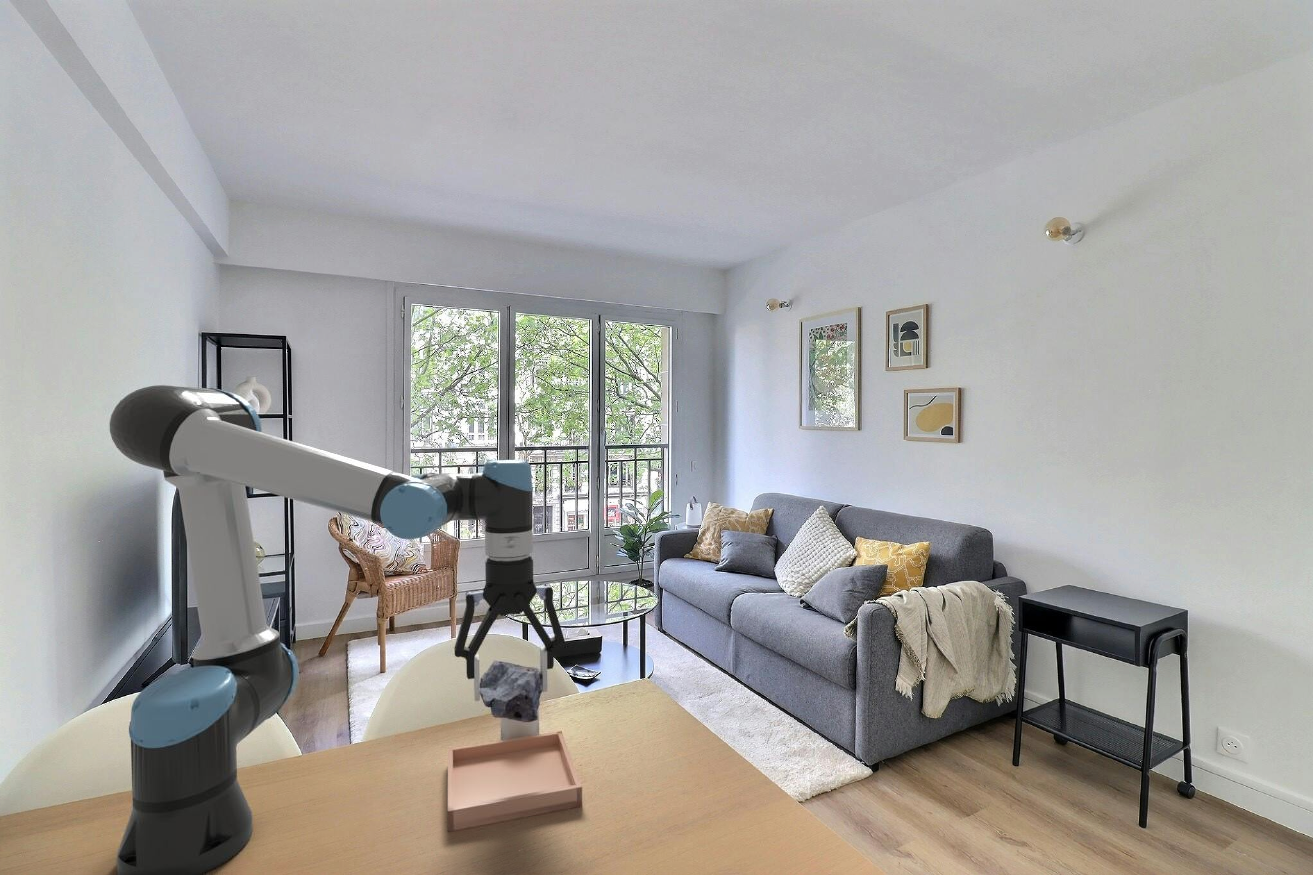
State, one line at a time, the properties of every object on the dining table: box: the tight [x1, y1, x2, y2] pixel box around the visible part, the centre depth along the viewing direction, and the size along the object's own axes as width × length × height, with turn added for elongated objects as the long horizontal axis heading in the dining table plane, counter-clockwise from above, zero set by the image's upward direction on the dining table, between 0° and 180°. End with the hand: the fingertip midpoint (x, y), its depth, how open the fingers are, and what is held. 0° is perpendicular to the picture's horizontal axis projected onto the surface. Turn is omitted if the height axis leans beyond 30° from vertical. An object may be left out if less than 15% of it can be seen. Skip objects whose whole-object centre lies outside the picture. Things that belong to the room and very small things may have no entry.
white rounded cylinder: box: [500, 706, 540, 740], centre depth 119 cm, size 7×7×8 cm
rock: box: [480, 660, 543, 722], centre depth 103 cm, size 14×10×10 cm
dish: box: [447, 730, 583, 832], centre depth 104 cm, size 20×19×3 cm
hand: (511, 692), depth 104 cm, fingers closed on rock, 10 cm apart
